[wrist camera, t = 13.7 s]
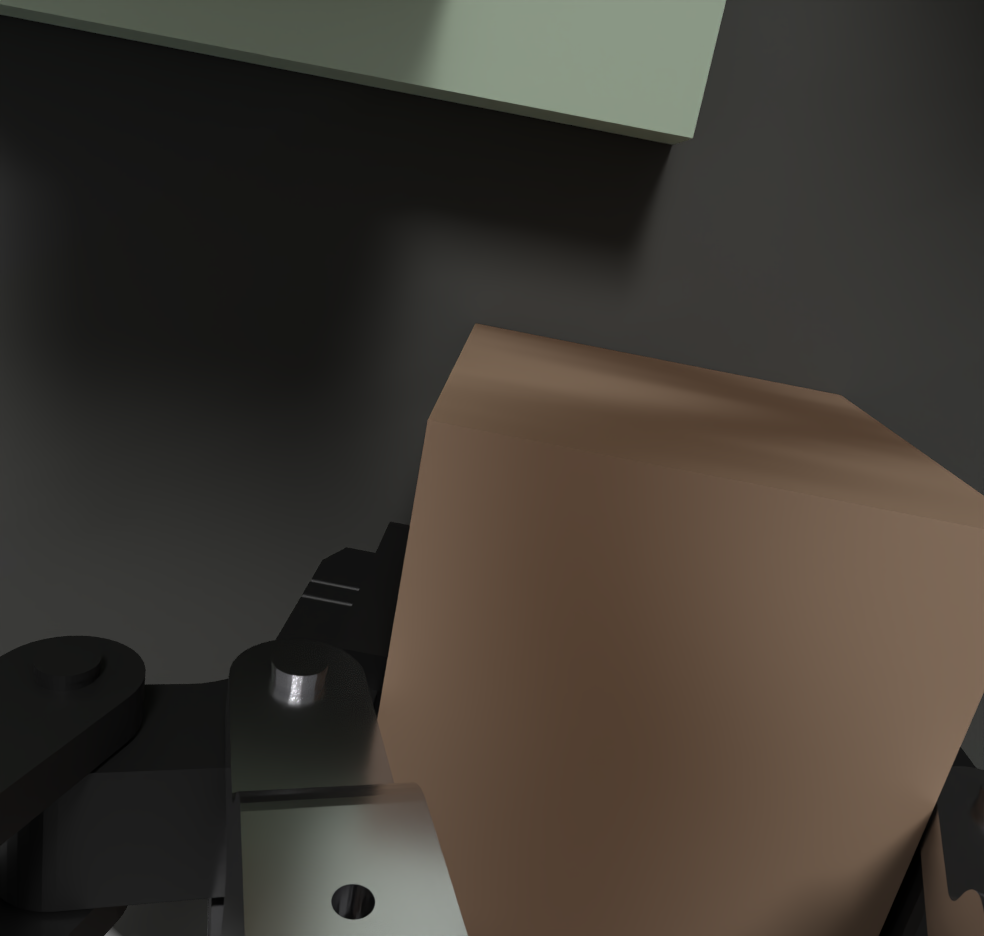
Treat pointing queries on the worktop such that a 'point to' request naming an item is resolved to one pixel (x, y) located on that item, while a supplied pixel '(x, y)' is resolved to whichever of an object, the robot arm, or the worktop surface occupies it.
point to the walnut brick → (676, 647)
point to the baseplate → (451, 49)
